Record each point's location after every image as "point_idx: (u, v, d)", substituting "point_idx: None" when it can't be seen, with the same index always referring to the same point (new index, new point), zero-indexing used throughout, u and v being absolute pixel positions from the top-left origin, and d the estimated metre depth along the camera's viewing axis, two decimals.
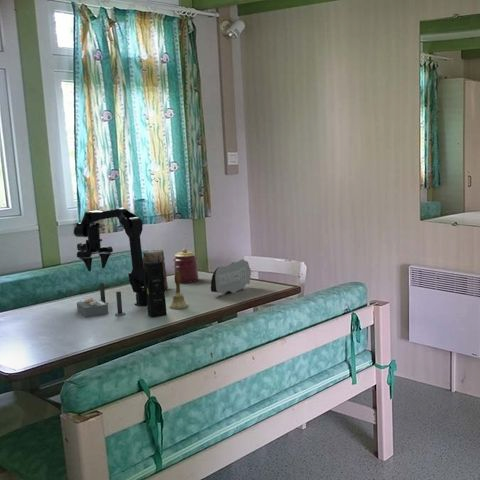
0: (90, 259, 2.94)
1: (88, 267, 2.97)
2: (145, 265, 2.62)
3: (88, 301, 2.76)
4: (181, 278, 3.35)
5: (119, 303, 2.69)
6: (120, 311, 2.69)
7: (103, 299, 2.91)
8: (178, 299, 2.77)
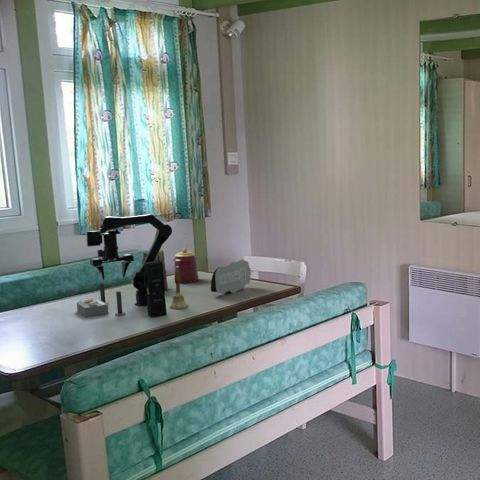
0: (101, 268, 2.77)
1: (101, 276, 2.80)
2: (145, 265, 2.62)
3: (88, 301, 2.76)
4: (181, 278, 3.35)
5: (119, 303, 2.69)
6: (120, 311, 2.69)
7: (103, 299, 2.91)
8: (178, 299, 2.77)
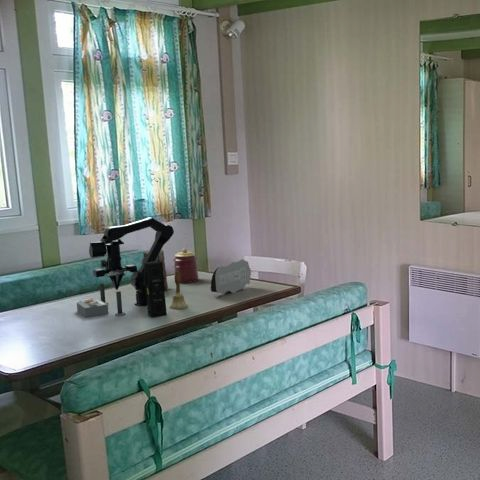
0: (113, 277, 2.78)
1: (114, 285, 2.81)
2: (145, 265, 2.62)
3: (88, 301, 2.76)
4: (181, 278, 3.35)
5: (119, 303, 2.69)
6: (120, 311, 2.69)
7: (103, 299, 2.91)
8: (178, 299, 2.77)
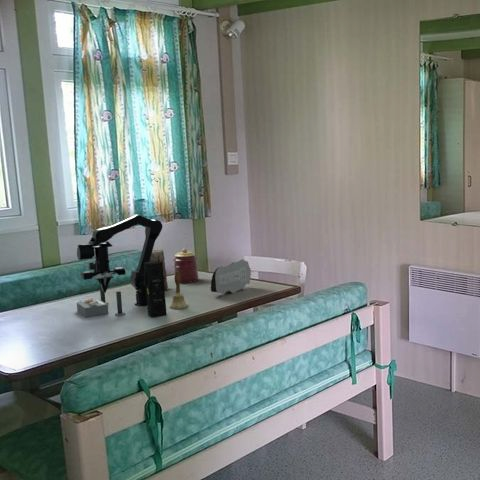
0: (101, 280, 2.75)
1: (102, 288, 2.78)
2: (145, 265, 2.62)
3: (88, 301, 2.76)
4: (181, 278, 3.35)
5: (119, 303, 2.69)
6: (120, 311, 2.69)
7: (103, 299, 2.91)
8: (178, 299, 2.77)
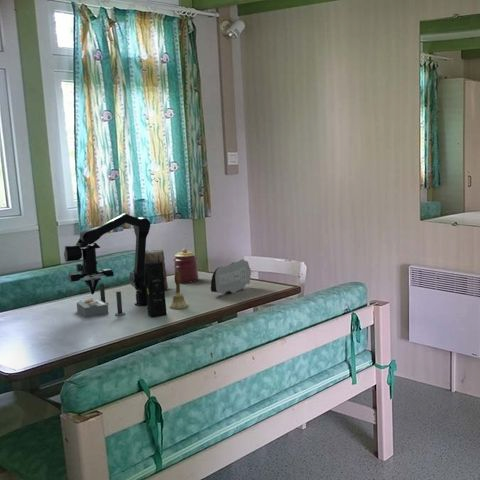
0: (89, 282, 2.73)
1: (90, 290, 2.76)
2: (145, 265, 2.62)
3: (88, 301, 2.76)
4: (181, 278, 3.35)
5: (119, 303, 2.69)
6: (120, 311, 2.69)
7: (103, 299, 2.91)
8: (178, 299, 2.77)
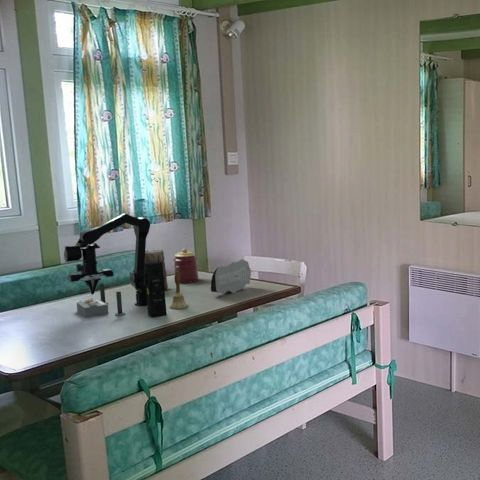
0: (89, 282, 2.73)
1: (90, 290, 2.76)
2: (145, 265, 2.62)
3: (88, 301, 2.76)
4: (181, 278, 3.35)
5: (119, 303, 2.69)
6: (120, 311, 2.69)
7: (103, 299, 2.91)
8: (178, 299, 2.77)
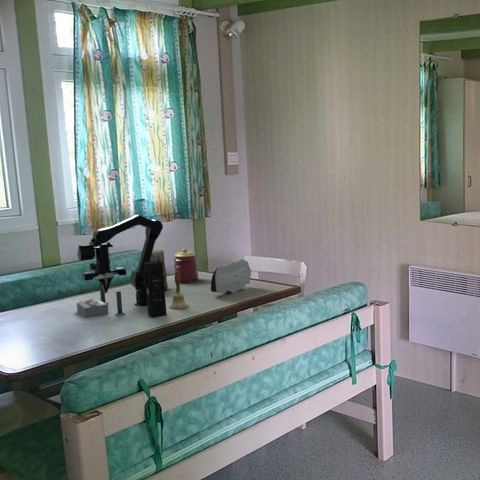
0: (102, 280, 2.75)
1: (103, 288, 2.78)
2: (145, 265, 2.62)
3: (88, 301, 2.76)
4: (181, 278, 3.35)
5: (119, 303, 2.69)
6: (120, 311, 2.69)
7: (103, 299, 2.91)
8: (178, 299, 2.77)
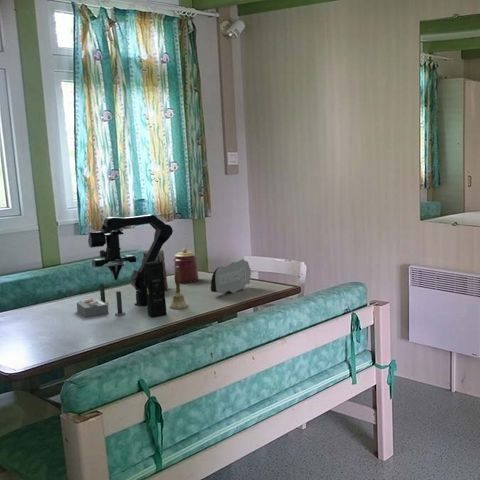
0: (112, 267, 2.77)
1: (113, 275, 2.80)
2: (145, 265, 2.62)
3: (88, 301, 2.76)
4: (181, 278, 3.35)
5: (119, 303, 2.69)
6: (120, 311, 2.69)
7: (103, 299, 2.91)
8: (178, 299, 2.77)
